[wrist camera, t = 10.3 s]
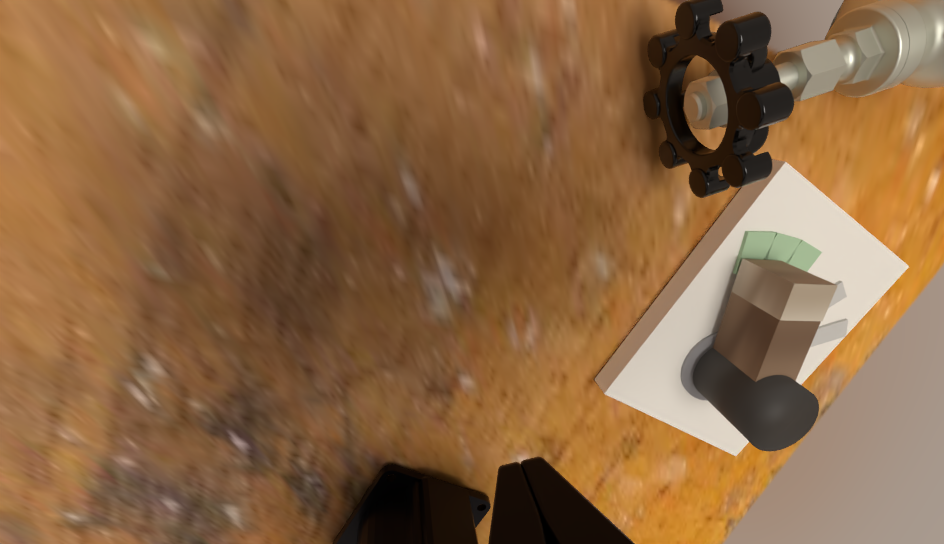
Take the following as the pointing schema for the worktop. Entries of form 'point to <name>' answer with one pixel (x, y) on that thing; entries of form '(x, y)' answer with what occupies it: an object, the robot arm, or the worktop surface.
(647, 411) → the dial board
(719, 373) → the lever
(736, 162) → the valve
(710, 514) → the worktop surface
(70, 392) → the worktop surface
